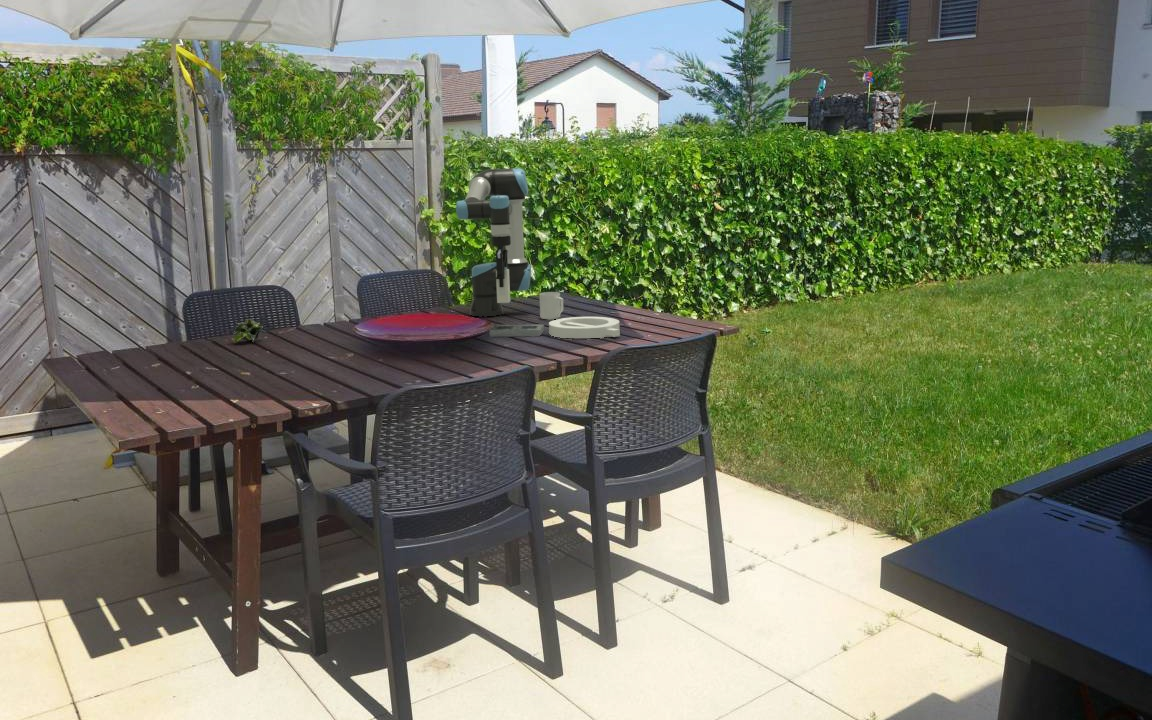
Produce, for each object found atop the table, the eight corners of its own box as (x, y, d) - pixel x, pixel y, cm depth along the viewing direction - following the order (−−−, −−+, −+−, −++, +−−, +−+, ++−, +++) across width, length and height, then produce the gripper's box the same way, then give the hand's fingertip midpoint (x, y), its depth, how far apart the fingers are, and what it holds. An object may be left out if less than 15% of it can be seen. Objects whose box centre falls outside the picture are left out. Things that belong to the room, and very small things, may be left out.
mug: (536, 319, 409) (535, 293, 407) (550, 316, 416) (549, 291, 413) (556, 321, 401) (555, 295, 399) (570, 318, 408) (569, 293, 405)
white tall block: (499, 301, 376) (497, 267, 373) (510, 301, 375) (508, 266, 372) (497, 303, 372) (495, 268, 369) (508, 302, 371) (506, 268, 368)
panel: (495, 330, 383) (495, 324, 382) (544, 330, 381) (544, 324, 380) (489, 336, 370) (489, 330, 370) (539, 336, 368) (539, 330, 367)
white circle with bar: (620, 339, 359) (620, 327, 358) (547, 341, 359) (547, 329, 358) (618, 327, 386) (618, 315, 385) (551, 328, 387) (550, 317, 386)
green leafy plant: (252, 354, 377) (266, 328, 379) (257, 353, 367) (272, 326, 370) (226, 341, 372) (240, 314, 375) (230, 340, 362) (245, 312, 365)
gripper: (506, 237, 359) (509, 297, 364) (514, 233, 376) (516, 290, 381) (487, 237, 360) (490, 297, 365) (495, 233, 377) (498, 291, 382)
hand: (503, 294), depth 373 cm, fingers closed on white tall block, 4 cm apart
